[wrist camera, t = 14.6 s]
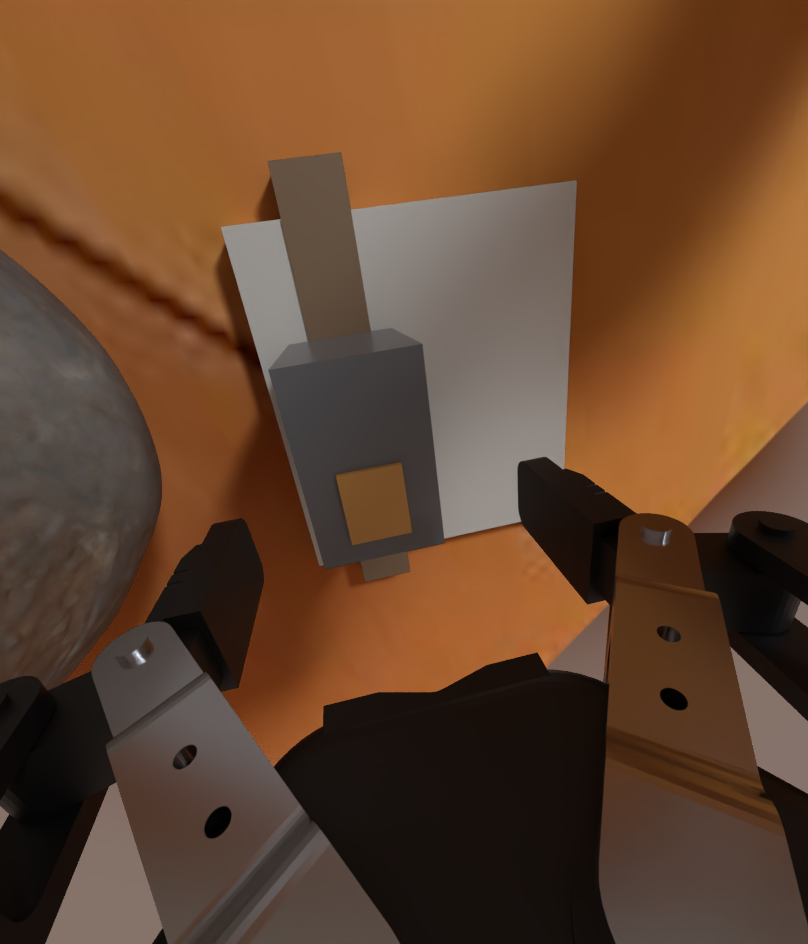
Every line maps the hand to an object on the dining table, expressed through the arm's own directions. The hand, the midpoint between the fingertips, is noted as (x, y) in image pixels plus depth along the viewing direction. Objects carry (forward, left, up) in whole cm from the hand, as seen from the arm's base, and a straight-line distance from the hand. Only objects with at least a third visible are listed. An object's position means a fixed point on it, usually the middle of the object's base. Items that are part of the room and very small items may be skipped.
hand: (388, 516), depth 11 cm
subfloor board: (-4, 0, -12) cm, 12 cm away
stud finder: (0, 0, -10) cm, 10 cm away
